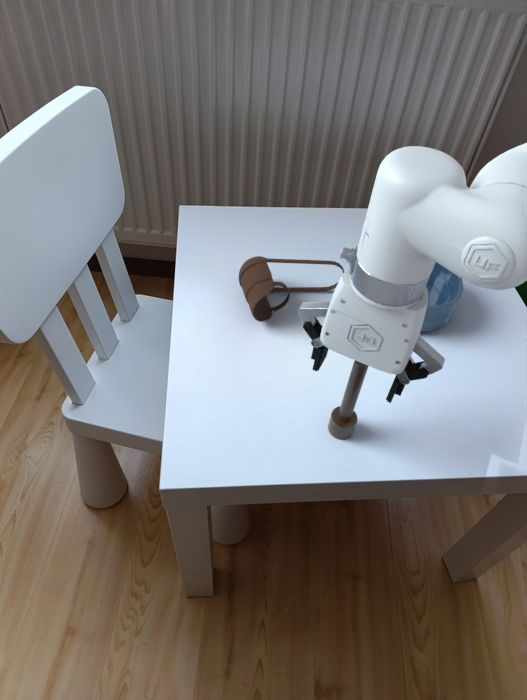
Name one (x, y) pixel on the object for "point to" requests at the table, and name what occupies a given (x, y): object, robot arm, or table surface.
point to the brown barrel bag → (270, 284)
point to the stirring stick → (348, 404)
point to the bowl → (441, 297)
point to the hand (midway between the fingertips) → (354, 378)
